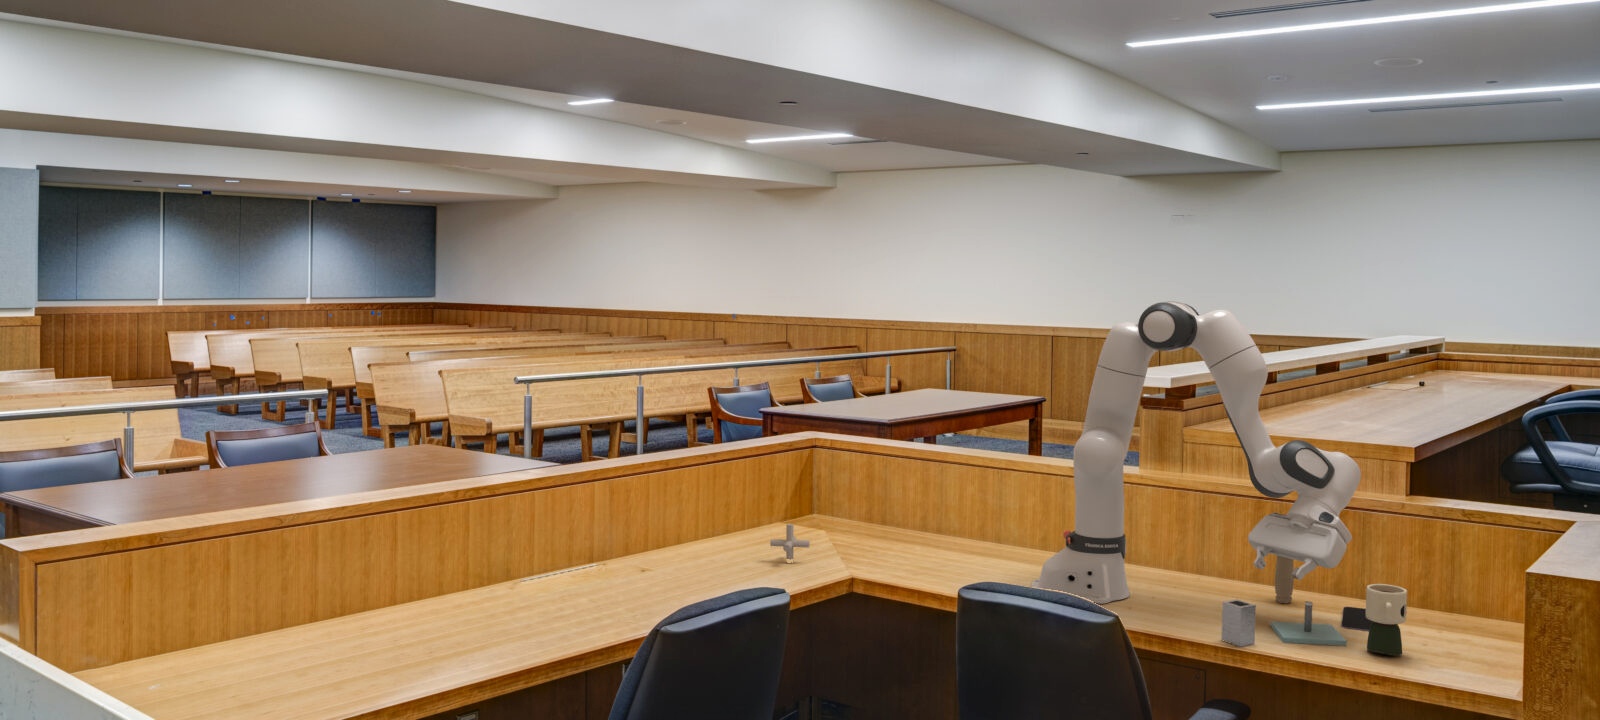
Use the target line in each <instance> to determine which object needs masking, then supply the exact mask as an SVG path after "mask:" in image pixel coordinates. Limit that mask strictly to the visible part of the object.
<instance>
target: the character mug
mask: <svg viewBox="0 0 1600 720" xmlns="http://www.w3.org/2000/svg"><path fill="white" fill-rule="evenodd" d="M1365 594H1366V596H1365V597H1366V598H1365V609H1366V618H1367V619H1369V620H1371V621H1374V622H1372V623H1371V625H1370V630H1369V631H1368V636H1367V643H1366V650H1368V651H1370V652H1373V653H1379V654H1382V655H1383V656H1387V655H1389V656H1401V655H1402V654H1403V643H1402V633H1401V628H1400V626H1399V625H1400V624H1404V623H1406V621H1407V613H1408V612H1407V611H1408V610H1407V609H1408V607H1407V605H1408V604H1407V603H1408V601H1407V600H1408V590H1407V589H1406V588H1404V587H1401V586H1398V585H1392V584H1387V583H1385V584H1384V583H1374V584H1373V583H1371V584H1368V585H1367V586H1366V592H1365Z"/></svg>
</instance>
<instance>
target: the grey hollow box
mask: <svg viewBox="0 0 1600 720" xmlns="http://www.w3.org/2000/svg"><path fill="white" fill-rule="evenodd" d="M1256 607H1257V606H1256V604H1254V603H1251V602H1247V601H1244V600H1241V599H1238V598H1237V599H1231V600H1226V601H1223V602H1222V612H1221V613H1222V614H1221V615H1222V617H1221V641H1222V640H1224V641H1227V642H1230V643H1232V644H1231V645H1233V644H1235V645H1237V646H1236V647H1238V646H1239V648H1242V646H1243V647H1246V646H1251V645H1255V641H1256V638H1255V637H1256V612H1257V611H1256ZM1224 641H1223V642H1224ZM1227 642H1226V643H1227ZM1230 643H1229V644H1230ZM1235 645H1234V646H1235Z"/></svg>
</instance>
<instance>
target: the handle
mask: <svg viewBox="0 0 1600 720" xmlns="http://www.w3.org/2000/svg"><path fill="white" fill-rule="evenodd" d="M1275 561H1276V562H1275V571H1274V591H1275V594H1276V595H1275V601H1276V602H1278V603H1280V604H1290V603H1292V600H1293V597H1292V596H1293V590H1294V583H1295V580H1294V579H1295V578H1294V577H1293V576H1292V572H1293V571H1294V569H1295V567H1294V559H1290V558H1286V557H1282V556H1278V555H1276V560H1275Z"/></svg>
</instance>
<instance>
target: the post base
mask: <svg viewBox="0 0 1600 720" xmlns="http://www.w3.org/2000/svg"><path fill="white" fill-rule="evenodd" d="M1270 627H1271V628H1272V630H1273V631H1274V633H1276V635H1277V636H1278V637H1279V639H1280V640H1281V642H1282V643H1285V644H1287V643H1288V644H1308V645H1321V646H1322V645H1324V646H1325V645H1326V644H1328V645H1326V646H1340V645H1341V647H1342V646H1343V647H1344V646H1345V647H1347V640H1346V638H1344V636H1342V634H1341V633H1340V632H1339V631H1338V630H1337V629H1336V628H1335V627H1334V626H1333V625H1332V624H1330V623H1329V624H1327V623H1325V624H1324V623H1313V602H1312V601H1304V620H1303V622H1287V621H1286V622H1285V621H1270Z"/></svg>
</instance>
